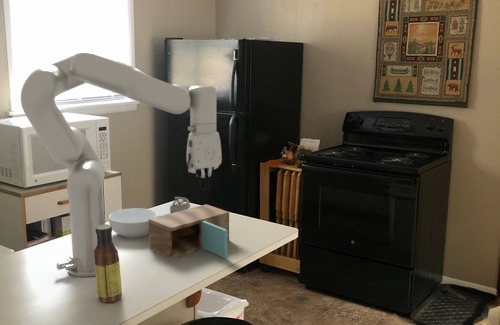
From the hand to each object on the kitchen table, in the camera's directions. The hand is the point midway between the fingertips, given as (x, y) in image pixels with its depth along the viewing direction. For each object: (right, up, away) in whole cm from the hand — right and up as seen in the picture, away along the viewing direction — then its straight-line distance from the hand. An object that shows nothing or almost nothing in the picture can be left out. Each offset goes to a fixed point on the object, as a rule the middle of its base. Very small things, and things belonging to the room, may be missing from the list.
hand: (203, 189), depth 167 cm
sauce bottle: (-23, -28, -19) cm, 41 cm away
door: (+3, -20, +12) cm, 24 cm away
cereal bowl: (-26, -17, +29) cm, 43 cm away
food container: (-11, -16, +36) cm, 40 cm away
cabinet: (-6, -19, +20) cm, 28 cm away
